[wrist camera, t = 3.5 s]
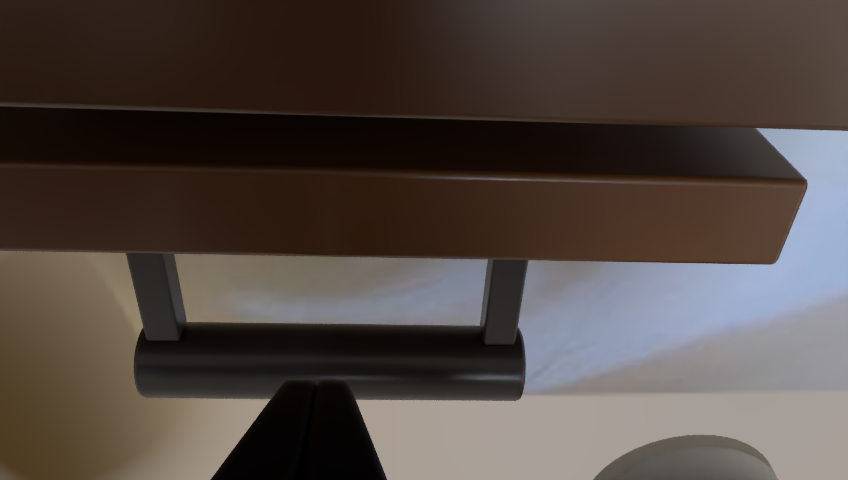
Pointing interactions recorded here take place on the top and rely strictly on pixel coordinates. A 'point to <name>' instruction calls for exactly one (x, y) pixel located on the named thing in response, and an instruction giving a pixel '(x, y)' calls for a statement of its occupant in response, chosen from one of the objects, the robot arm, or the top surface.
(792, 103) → the cabinet
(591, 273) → the top surface
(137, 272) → the drawer
